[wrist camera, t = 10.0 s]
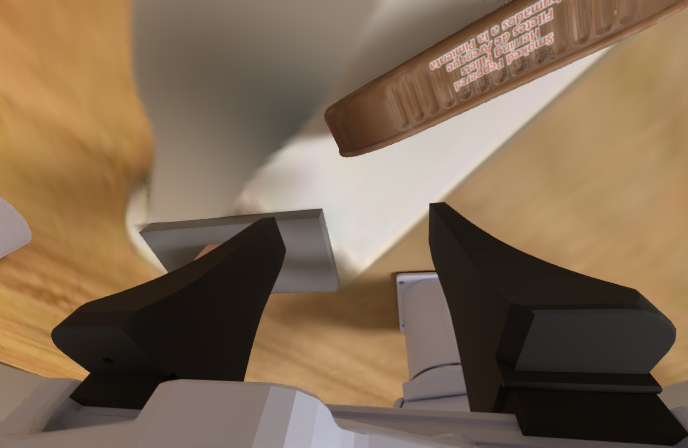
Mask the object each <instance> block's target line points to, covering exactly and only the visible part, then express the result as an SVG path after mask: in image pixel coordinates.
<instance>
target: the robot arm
mask: <svg viewBox="0 0 688 448" xmlns="http://www.w3.org/2000/svg"><path fill="white" fill-rule="evenodd" d="M429 246H430V251H431V256H432V260H433V264H434V267H435V269H436V272H425V273H401V274H398V275H397V276H396V281H397V295H398V310H399V324H400V332H401V333H405V340H406V350H407V360H408V370H409V380H410V381H409V382H405V383H403V397H404V398H399V399H397V400H396V401H395V403H394V405H393V408H390V407H371V406H353V405H335V404H324V403H323V402H322V401H321V400H320V399H319V397H318V396H317V395H315V394H312V393H310V392H308V391H305V390H303V389H301V388H299V387H295V386H289V385H283V384H277V383H261V382H244V378H245V373H246V369H247V365H248V361H249V357H250V353H251V349H252V346H253V342H254V338H255V335H256V331H257V328H258V325H259V322H260V319H261V315H262V313H263V310H264V307H265V305H266V303H267V300H268V298H269V296H270V294H271V291H272V289H273V287H274V285H275V282H276V280H277V278H278V275H279V273H280V270H281V268H282V265H283V261H284V258H285V253H286V247H285V245H284V242H283V239H282V236H281V233H280V231H279V228H278V225H277V222H276V220H275V217H265V218H261V219H259V220H257V221H256V222H254V223H253V224H251V225H250V226H248V227H246V228H245V229H244V230H242V231H241V232H239V233H238V234H236V235H235V236H233V237H232V238H230V239H229V240H227V241H226V242H224V243H223V244H221V245H219V246H218V247H216V248H215V249H213V250H211V251H210V252H208V253H207V254H205V255H203V256H201V257H200V258H198V259H196V260H194V261H192V262H190V263H188V264H186V265H184V266H183V267H180V268H178V269H176V270H174V271H172V272H170V273H167V274H165V275H163V276H161V277H159V278H156V279H154V280H151V281H149V282H146V283H144V284H141V285H139V286H136V287H133V288H131V289H128V290H125V291H122V292H119V293H116V294H113V295H110V296H107V297H104V298H101V299H97V300H94V301H91V302H88V303H85V304H84V305H82V306H80V307H79V308H78V309H76V310H75V311H74V312H73V313H72V314H71V315H69V316H68V317H67V318H66V319H65V320H64V321H62V322H61V323H60V324H59V325H58V326H56V327H55V328H54V329H53V331H52V333H51V337H52V340H53V343H54V344H55V345H56V346H57V348H59V349H60V350H61V351H62V352H63V353H64V354H66V355H67V356H68V357H70V358H71V359H72V360H74V361H75V362H76V363H78V364H79V365H81V366H82V367H83V368H85V369H86V370H87V371H89V372H91V373H90V374H89V375H88V376H87V377H86V378H85V380H84V381H83V382H82V381H79V380H76V379H70V378H46V379H45V380H44V381H42V382H41V383H40V384H39V385H38V386H37V387H36V388H35V389H34V390H33V391H32V392H31V393H30V394H29V395H28V396H27V397H26V398H25V399H24V400H23V401H22V402H21V403H20V404H19V405H18V406H17V407H16V408H15V409H14V410H13V411H12V412H11V413H10V414H9V415H8V416H7V417H6V418H5V419H4V420H3V421H1V422H0V448H688V406H682V407H677V408H673V409H671V410H669V409H668V408H667V407H666V405H665V404H664V403H663V402H662V401H661V399H660V398H659V397H658V396H657V394H660V393H661V392H662V388H661V386H660V385H659V383H658V382H657V381H656V380H655V379H654V378H653V376H652V375H651V374H650V373H649V372H650V371H651V370H652V369H653V368H654V366H655V365H656V364H657V363H658V362H659V361H660V360H661V359H662V358H663V357H664V356H665V355H666V353H667V352H668V351H669V350H670V348H671V347H672V345H673V344H674V342H675V339H676V328H675V327H674V325H673V324H672V322H671V321H670V320H669V319H668V318H667V317H666V316H665V315H664V314H663V313H661V312H660V311H659V310H658V309H657V308H656V307H655V306H654V305H653V304H652V303H650V302H649V301H648V300H647V299H646V298H645V297H644V296H643V295H642V294H640V293H639V292H638V291H637V290H636V289H632V288H628V287H625V286H621V285H618V284H614V283H610V282H607V281H603V280H600V279H596V278H592V277H589V276H586V275H583V274H580V273H577V272H574V271H571V270H568V269H565V268H562V267H559V266H556V265H554V264H551V263H548V262H546V261H543V260H541V259H538V258H536V257H534V256H531V255H529V254H526V253H524V252H522V251H520V250H518V249H516V248H514V247H512V246H510V245H508V244H506V243H504V242H502V241H500V240H498V239H496V238H495V237H493V236H491V235H490V234H488V233H487V232H485V231H483V230H482V229H480V228H479V227H477V226H476V225H474V224H473V223H471V222H470V221H469V220H467V219H466V218H464V217H463V216H462V215H460V214H459V213H458V212H457V211H455V210H454V209H453V208H451V207H450V206H449V205H448V204H446V203H445V202H440V203H429ZM400 281H403V282H400Z"/></svg>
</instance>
